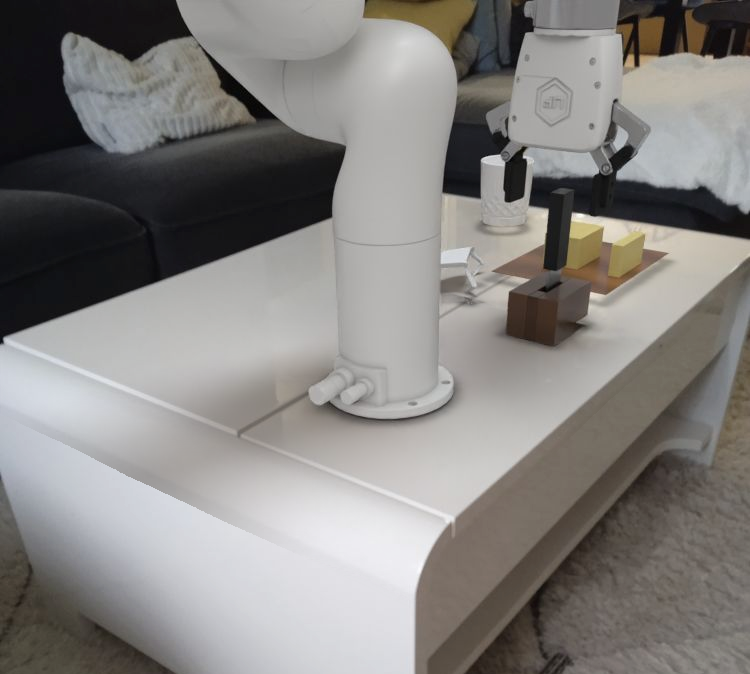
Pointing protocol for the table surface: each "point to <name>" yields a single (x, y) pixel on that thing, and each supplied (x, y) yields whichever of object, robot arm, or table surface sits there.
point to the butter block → (583, 244)
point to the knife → (557, 235)
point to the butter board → (592, 271)
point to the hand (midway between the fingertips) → (554, 206)
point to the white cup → (502, 194)
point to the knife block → (547, 309)
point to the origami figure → (461, 263)
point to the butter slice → (626, 254)
